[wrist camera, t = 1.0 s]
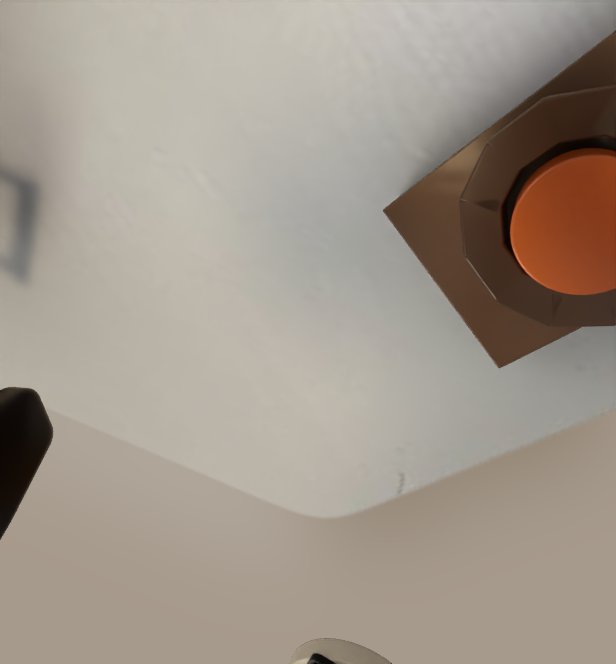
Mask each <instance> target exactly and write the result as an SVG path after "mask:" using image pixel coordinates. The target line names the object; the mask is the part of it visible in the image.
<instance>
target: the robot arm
mask: <svg viewBox="0 0 616 664" xmlns="http://www.w3.org/2000/svg"><path fill="white" fill-rule="evenodd" d="M52 438H53V427H52V424H51V422H50V420H49V417H48V415H47V413H46V410H45V408H44V406H43V403H42V401H41V399H40V396H39V395H38V393H37V392H36V391H35V390H33V389H30V388H20V387H8V388H4V389H2V390H0V539H1V538H2V536H3V534H4V533H5V531H6V529H7V528H8V526H9V524H10V522H11V520H12V518H13V517H14V515H15V513H16V511H17V509H18V507H19V505H20V503H21V501H22V499H23V497H24V495H25V493H26V491H27V489H28V487H29V485H30V483H31V481H32V479H33V477H34V475H35V473H36V472H37V470H38V468H39V466H40V464H41V462H42V460H43V458H44V456H45V454H46V452H47V450H48V448H49V446H50V444H51V442H52ZM307 664H336V663H334V662H333V661H331V660H330V659H328V658H326V657H325V656H323V655H321V654H319V653H313V654H312V655H311V657H310V659H309V660H308V662H307Z"/></svg>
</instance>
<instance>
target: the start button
mask: <svg viewBox="0 0 616 664" xmlns="http://www.w3.org/2000/svg"><path fill="white" fill-rule="evenodd" d="M510 238H511V245H512V248H513V252H514V254H515V256H516V259H517V261H518V262H519V264H520V265H521V267H522V268H523V269H524V271H525V272H526V273H527V274H528V275H529V276H530V277H531V278H532V279H534V280H535V281H537V282H538V283H539V284H541V285H543V286H545V287H547V288H549V289H552V290H554V291H557V292H561V293H565V294H573V295H589V294H597V293H602V292H606V291H609V290H612V289H615V288H616V151H612V150H608V149H602V148H584V149H578V150H573V151H569V152H566V153H563V154H561V155H559V156H557V157H554V158H552V159H551V160H549V161H548V162H546V163H544V164H543V165H542V166H541V167H539V168H538V169H537V170H536V171H535V172H534V173H533V174H532V175H531V176H530V177H529V179H528V180H527V181H526V182H525V184H524V185H523V187H522V189H521V190H520V193H519V195H518V197H517V200H516V203H515V207H514V211H513V215H512V219H511V225H510Z"/></svg>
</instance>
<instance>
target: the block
mask: <svg viewBox="0 0 616 664" xmlns="http://www.w3.org/2000/svg"><path fill="white" fill-rule="evenodd" d="M584 148H602V149H608V150H612V151H616V31H614V32H613V33H612V34H610V35H609V36H608V37H606V38H605V39H604V40H603V41H601V42H600V43H599V44H597V45H596V46H595V47H593V48H592V49H591V50H590V51H588V52H587V53H586V54H584V55H583V56H582V57H580V58H579V59H578V60H577V61H575V62H574V63H573V64H571V65H570V66H569V67H567V68H566V69H565V70H564V71H562V72H561V73H560V74H558V75H557V76H556V77H554V78H553V79H552V80H551V81H549V82H548V83H547V84H545V85H544V86H543V87H541V88H540V89H539V90H538V91H536V92H535V93H534V94H532V95H531V96H530V97H528V98H527V99H526V100H525V101H523V102H522V103H521V104H519V105H518V106H517V107H515V108H514V109H513V110H512V111H510V112H509V113H508V114H506V115H505V116H504V117H502V118H501V119H500V120H499V121H497V122H496V123H495V124H493V125H492V126H491V127H490V128H488V129H487V130H486V131H484V132H483V133H482V134H480V135H479V136H478V137H477V138H475V139H474V140H473V141H471V142H470V143H469V144H467V145H466V146H465V147H464V148H462V149H461V150H460V151H458V152H457V153H456V154H454V155H453V156H452V157H451V158H449V159H448V160H447V161H445V162H444V163H443V164H441V165H440V166H439V167H438V168H436V169H435V170H434V171H432V172H431V173H430V174H428V175H427V176H426V177H425V178H423V179H422V180H421V181H419V182H418V183H417V184H415V185H414V186H413V187H412V188H410V189H409V190H408V191H406V192H405V193H404V194H402V195H401V196H400V197H399V198H397V199H396V200H395V201H393V202H392V203H391V204H390V205H388V206H387V207H386V208H385V209H383V212H384V213H385V214H386V216H387V217H388V218H389V220H390V221H391V222H392V224H393V225H394V227H395V228H396V229H397V231H398V232H399V233H400V235H401V236H402V237H403V239H404V240H405V241H406V243H407V244H408V246H409V247H410V248H411V250H412V251H413V252H414V254H415V255H416V256H417V258H418V259H419V261H420V262H421V263H422V265H423V266H424V267H425V269H426V270H427V271H428V273H429V274H430V275H431V277H432V278H433V280H434V281H435V282H436V284H437V285H438V286H439V288H440V289H441V290H442V292H443V293H444V295H445V296H446V297H447V299H448V300H449V301H450V303H451V304H452V305H453V307H454V308H455V309H456V311H457V312H458V314H459V315H460V316H461V318H462V319H463V320H464V322H465V323H466V324H467V326H468V327H469V329H470V330H471V331H472V333H473V334H474V335H475V337H476V338H477V339H478V341H479V342H480V343H481V345H482V346H483V348H484V349H485V350H486V352H487V353H488V354H489V356H490V357H491V358H492V360H493V361H494V363H495V364H496V365H497V367H498V368H501V367H503V366H505V365H507V364H509V363H511V362H513V361H515V360H517V359H519V358H521V357H523V356H525V355H527V354H529V353H531V352H533V351H535V350H537V349H539V348H541V347H543V346H545V345H547V344H549V343H551V342H553V341H555V340H557V339H559V338H561V337H563V336H565V335H567V334H569V333H571V332H573V331H575V330H577V329H579V328H581V327H588V326H615V325H616V288H615V289H612V290H609V291H606V292H602V293H597V294H589V295H573V294H565V293H561V292H557V291H554V290H552V289H549V288H547V287H545V286H543V285H541V284H539V283H538V282H537V281H535V280H534V279H532V278H531V277H530V276H529V275H528V274H527V273H526V272H525V271H524V269H523V268H522V267H521V265H520V264H519V262H518V261H517V259H516V256H515V254H514V252H513V248H512V245H511V238H510V225H511V219H512V215H513V211H514V207H515V203H516V200H517V197H518V195H519V193H520V190H521V189H522V187H523V185H524V184H525V182H526V181H527V180H528V179H529V177H530V176H531V175H532V174H533V173H534V172H535V171H536V170H537V169H538V168H539V167H541V166H542V165H543V164H544V163H546V162H548V161H549V160H551V159H552V158H554V157H557V156H559V155H561V154H563V153H566V152H569V151H573V150H578V149H584Z"/></svg>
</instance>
